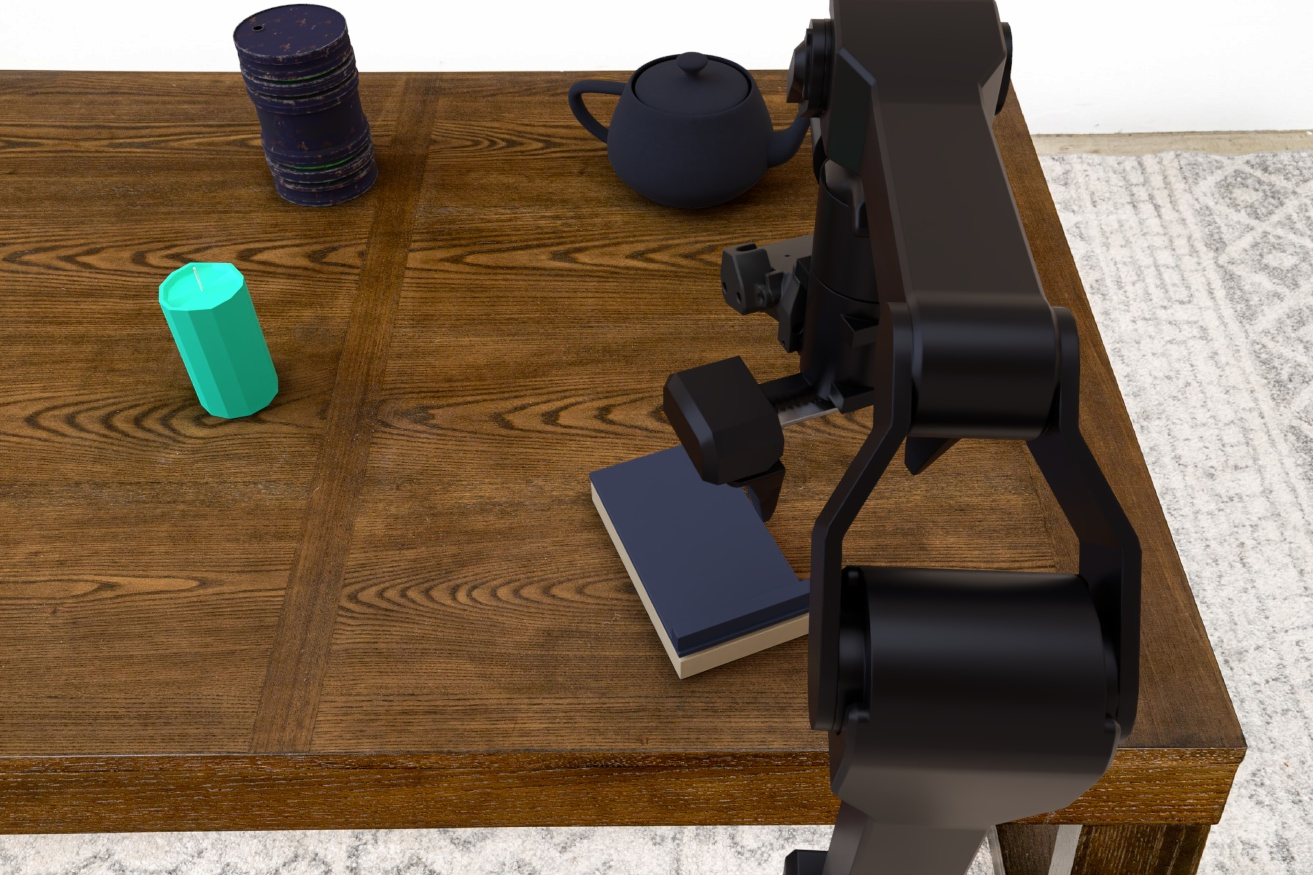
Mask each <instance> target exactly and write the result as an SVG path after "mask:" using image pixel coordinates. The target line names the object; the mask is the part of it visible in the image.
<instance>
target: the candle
mask: <svg viewBox="0 0 1313 875" xmlns="http://www.w3.org/2000/svg"><path fill="white" fill-rule="evenodd" d="M246 282H247V281H246V279H245V276H244V274H242V273H241V271H240V270H238V269H237V268H236V266H235V265H234V264H233V263H231V262H188V263H187V264H185V265H184V266H182V267H180V268H178V269H176V270H174V271H172V272H171V273H169V275H168V276H167V277H166V278H165V280H164V281H163V282H161V284H160V285H159V286H158V302H159V305H160V308H161V310H162V312H163V315H164V317H165V320H166V323H167V325H168V327H169V330H170V333H171V335H172V337H173V339H174V342H175V344H176V347H177V349H178V352H179V354H180V357H181V359H182V361H183V364H184V366H185V368H186V371H187V374H188V376H189V378H190V380H191V383H192V386H193V388H194V390H195V393H196V396H197V398H198V400H199V402H200V405H201V407H203V408H204V409H205V411H207V412H208V413H209V414H210V416H214V417H220V418H224V419H236V418H242V417H247V416H252V415H253V414H256V413H257V412H259V411H260V410H262V409H264V408H266V407H268V406H269V405H270V404H271V403H272V401H273V400H274V398H275V397H276V395H278V393H279V378H278V375H277V371H276V369H275V365H274V362H273V360H272V357H271V354H270V350H269V347H268V345H267V342H266V338H265V336H264V332H263V330H262V326H261V324H260V321H259V317H258V315H257V311H256V308H255V306H254V303H253V299H252V296H251V294H250V291H249V288H248V285H247V283H246Z"/></svg>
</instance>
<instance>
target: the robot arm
mask: <svg viewBox="0 0 1313 875" xmlns="http://www.w3.org/2000/svg"><path fill="white" fill-rule="evenodd" d="M828 2H829V3H828V14H829V18H826V17H825V18H810V20H809V22H808V23H809V25H808V27H805V28H806V29H805V34H804V38H803V40H802V41H801V42H800V43H799V44H798V45H797V46H795V48H794V49H793V52H792V56H791V58H790V63H789V65H788V66H789V68H788V71H787V74H786V75H787V76H786V93H785V94H786V95H785V103H786V104H797V108H798V109H797V110H798V112H799V118H810V127H809V129H810V143H811V157H812V159H811V160H812V171H813V174H814V177H815V179H816V183H817V185H818V190H817V200H816V209H815V217H814V227H813V233H810V234H805V235H802V236H801V235H800V236H797V237H793V238H789V239H786V240H780V241H777V242H773V243H769V244H764V245H761V246H758V245H757V244H756V243H755V242H753V241H750V242H746V243H743V244H738V245H734V246H730V247H726V248H723V249H722V253H721V264H720V275H719V276H720V284H721V285H720V286H721V293H722V296H723V299H724V303H726V305H728V306H729V307H730V308H732V309H733V310H734V311H736V312H737V313H738V314H740V315H741V316H742V317H743V316H748V315H752V314H754V313H761V314H762V313H765V314H767V315H768V316H769V317H771V318H772V319H774V320H775V321H776V322H778V328H777V337H776V338H777V341H778V342H779V344H780V345H781V347H782V348H783V349H784V351H785V352H786V353H787V354H793V353H795V352H796V353H797V355H798V356H799V372H798V373H797V372H796V373H793V374H790V375H786V376H783V377H779V378H775V379H771V380H769V381H764V382H762V383H758V381H757V380H756V378H755V377H754V374H752V372H751V370H750V369H749V367H748V366H747V364H746V363H745V361H744V360H743V358H742V357H741V355H735V356H732V357H728V358H724V359H721V360H717V361H714V362H713V361H712V362H710V363H706V364H702V365H699V366H694V367H692V368H688V369H687V368H686V369H684V370H679V371H676V372H673V373H670V374H669V375H668V377H667V378H666V381H665V382H664V385H663V387H662V409H663V410H662V411H663V414H664V415H665V417H666V419H667V421H668V422H669V424H670V427H671V428H672V429H673V431H674V433H675V435H676V437H677V438H678V440H679V442H680V445H683V447H684V449H685V451H686V452H687V454H688V456H689V458H690V460H691V461H692V463H693V465H694V467H695V468H696V470H697V472H698V474H699V476H700V477H701V479H702V481H705V482H708V483H711V484H714V485H722V484H725V483H726V484H727V485H729V486H731V487H734V488H740V487H742V488H743V487H745V489H746V491H747V494H748V496H749V500H750V501H751V503H752V505H753V506H754V508H755V510H756V512H757V514H758V515H759V517H760V519H761V521H762V522H763V523H764V524H765V523H767V522H770V521H771V519H772V517H773V515H774V514H775V512H776V509H777V506H778V501H779V498H780V494H781V490H782V487H783V484H784V480H785V475H786V472H787V468H786V467H785V465H784V463H783V462H782V460H781V458H782V457H783V456H784V452H785V441H786V440H785V439H786V438H785V435H784V431H783V428H787V427H790V426H793V425H797V424H800V423H805V422H807V421H808V422H809V421H812V420H814V419H818V418H821V417H825V416H829V415H831V414H835V413H838V412H839V413H840V415H844V414H848V413H851V412H855V411H859V410H863V409H865V408H870V407H872V428H871V430H870V432H869V433H868V435H867V437H866V439H865V440H864V441H863V443H862V445H861V447H860V448H859V450H858V452H857V453H856V455H855V456H854V458H853V459H852V461H851V463H850V464H849V466H848V467H847V469H846V470H845V472H844V474H843V476H842V478H841V479H840V480H839V481H838V483H837V485H836V487H835V488H834V490H833V492H832V493H831V494H830V497H829V498H828V500H827V501H826V503H825V504H824V506H823V508H822V510H821V511H820V512H819V514H818V515H817V517H816V519H815V521H814V524H813V526H812V531H811V536H810V537H811V539H810V564H809V565H810V568H809V569H810V570H809V581H810V598H809V631H808V634H807V635H808V636H807V676H806V677H807V680H806V681H807V707H808V708H807V709H808V720H809V725H810V731H813V732H815V731H816V732H827V741H828V744H827V745H828V764H829V784H830V792H832V794H834V796H836V797H837V798H838V799H840V800H841V801H840V804H839V808H838V810H837V811H838V812H837V815H836V819H835V823H834V826H833V830H832V834H831V838H830V841H829V846H828V850H822V849H821V850H819V849H801V848H794V849H793V850H792V851H791V852H789V853H788V854H787V855H786V856H785V857H784V863H783V870H782V875H967V874H968V872H969V870H970V868H971V867H972V864H973V863H974V860H975V859H976V857H977V855H978V853H979V851H980V849H981V847H982V845H983V844H984V841H985V840H986V838H987V836H988V834H989V832H990V830H991V829H992V827H994V826H997V825H1001V824H1004V823H1008V822H1013V821H1016V820H1021V819H1026V818H1030V817H1032V816H1034V817H1035V816H1038V815H1042V814H1046V813H1050V812H1055V811H1058V810H1062V809H1066V808H1068V807H1069V806H1070V805H1071V804H1073V803H1074V802H1075V801H1076V800H1077V799H1079V798H1080V797H1081V796H1082V795H1083V794H1085V793H1086V792H1087V791H1088V790H1090V789H1091V788H1092V787H1094V786H1095V784H1097V783H1099V781H1100V780H1101V779H1102V777H1103V776H1104V775H1105V774H1106V773H1107V771H1108V770H1109V769H1110V767H1111V766H1112V764H1113V761H1114V758H1115V756H1116V753H1117V751H1118V747H1119V745H1124V743H1125V742H1126V741H1127V740H1128V738H1130V736H1131V735H1132V732H1133V728H1134V726H1135V723H1136V719H1137V714H1138V704H1139V694H1140V667H1141V666H1140V663H1141V662H1140V661H1141V660H1140V659H1141V618H1142V617H1141V616H1142V614H1141V613H1142V611H1141V610H1142V571H1143V570H1142V569H1143V551H1142V547H1141V542H1140V539H1139V535H1138V534H1137V532H1136V531H1135V528H1134V527H1133V525H1132V523H1131V521H1130V520H1129V518H1128V516H1127V514H1126V513H1125V511H1124V509H1123V507H1122V505H1121V503H1120V501H1119V500H1118V498H1117V496H1116V494H1115V492H1114V491H1113V489H1112V487H1111V485H1110V484H1109V482H1108V480H1107V478H1106V476H1105V475H1104V473H1103V471H1102V468H1101V467H1100V465H1099V463H1098V462H1097V460H1096V458H1095V456H1094V455H1093V452H1092V451H1091V448H1090V447H1089V445H1088V443H1087V441H1086V440H1085V438H1084V436H1083V435H1082V433H1081V430H1080V395H1081V394H1080V391H1081V390H1080V389H1081V388H1080V387H1081V386H1080V385H1081V349H1080V337H1079V330H1078V326H1077V320H1076V318H1075V316H1074V315H1073V313H1072V311H1071V309H1070V308H1069V307H1065V306H1051V304H1050V302H1049V301H1048V298H1047V297H1046V293H1045V291H1044V287H1043V284H1042V281H1041V278H1040V275H1039V271H1038V268H1037V266H1036V262H1035V259H1034V256H1033V252H1032V250H1031V246H1030V243H1029V240H1028V237H1027V233H1026V231H1025V226H1024V225H1023V222H1022V218H1021V214H1020V212H1019V209H1018V205H1017V202H1016V199H1015V196H1014V192H1013V190H1012V187H1011V183H1010V180H1009V177H1008V174H1007V172H1006V167H1005V165H1004V162H1003V158H1002V155H1001V152H1000V149H999V146H998V142H997V140H996V137H995V133H994V130H993V124H994V117H995V116H998V115H999V114H1000V113H1001V112H1002V110H1003V108H1004V106H1005V104H1006V100H1007V97H1008V93H1009V89H1010V83H1011V77H1012V69H1013V55H1014V54H1013V51H1014V46H1013V45H1014V43H1013V32H1012V28H1011V25H1010V23H1009V22H1008V21H1001V16H1000V12H999V7H998V4H997V1H996V0H829V1H828ZM962 439H969V440H971V439H972V440H1001V441H1003V440H1005V441H1025V445H1026V447H1027V448H1028V450H1029V452H1030V454H1031V457H1033V460H1034V462H1035V463H1036V465H1037V467H1038V469H1039V470H1040V472H1041V474H1042V475H1043V478H1044V480H1045V481H1046V483H1047V485H1048V486H1049V488H1050V490H1051V492H1052V494H1053V496H1054V498H1055V499H1056V501H1057V503H1058V504H1059V506H1060V508H1061V510H1062V512H1063V514H1064V516H1065V517H1066V519H1067V521H1068V523H1069V525H1070V527H1071V528H1072V530H1073V532H1074V534H1075V536H1076V537H1077V540H1078V573H1072V572H1047V571H1019V570H997V569H996V570H995V569H994V570H993V569H967V568H963V569H962V568H941V567H917V566H916V567H915V566H891V565H890V566H888V565H887V566H886V565H862V564H858V565H856V564H855V565H852V564H846V565H845V566H844V567H842V566H843V541H844V537H845V535H846V534H847V532H848V530H849V529H850V528H851V526H852V524H853V522H854V521H855V520H856V518H857V516H858V515H859V513H860V512H861V510H862V508H863V507H864V505H865V504H866V502H867V500H868V499H869V497H870V495H871V493H873V491H874V489H875V487H876V485H877V484H878V483H879V481H880V479H881V478H882V476H883V474H884V473H885V472H886V470H887V468H888V466H889V465H890V463H891V462H892V460H893V458H894V457H895V455H896V453H897V452H898V450H899V449H900V447H901V446H902V444H903V442H904V441H905V444H904V457H903V458H904V459H903V463H904V466H905V468H906V470H908V472H909V473H910V474H911V476H918V475H921V474H922V473H923V472H924V471H925V470H926V469H928V468H929V467H930V466H931V465H932V464H933V463H935V462H936V461H937V460H938V459H939V458H941V457H942V456H943V455H944V454H946V453H947V451H949V450H951V448H952V447H954V446H955V445H956V444H957V443H959V442H960V441H961V440H962Z"/></svg>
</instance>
